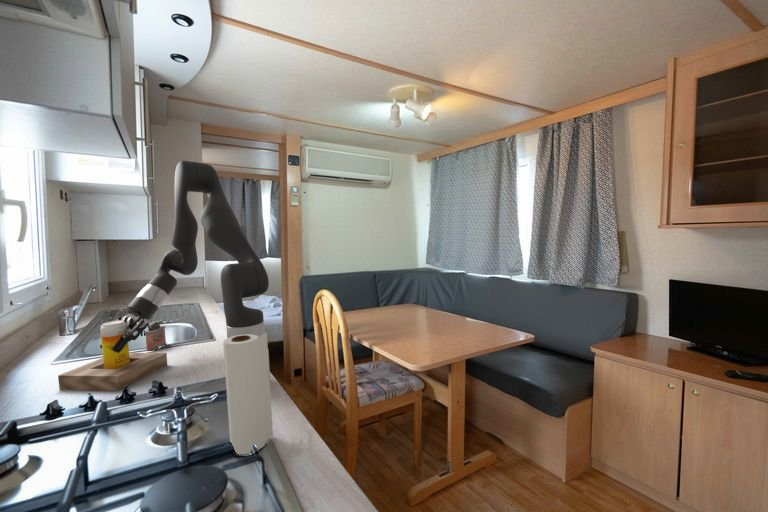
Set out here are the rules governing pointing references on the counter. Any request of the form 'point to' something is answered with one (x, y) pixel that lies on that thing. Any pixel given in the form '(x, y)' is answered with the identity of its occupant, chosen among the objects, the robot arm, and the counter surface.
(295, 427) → the counter surface
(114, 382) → the socket block
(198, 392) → the counter surface
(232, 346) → the paper towel roll
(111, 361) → the yellow cylinder
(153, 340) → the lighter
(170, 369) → the counter surface
